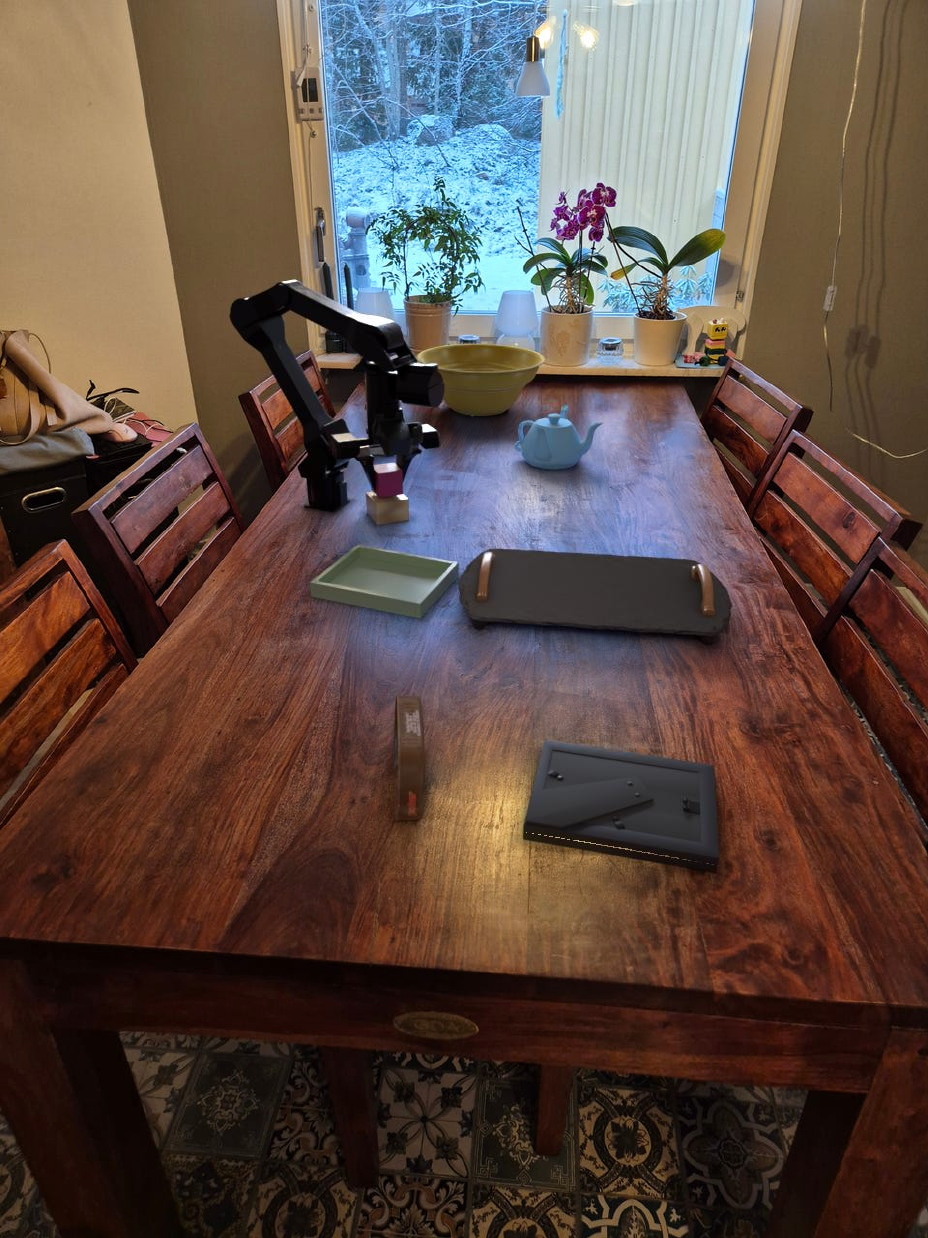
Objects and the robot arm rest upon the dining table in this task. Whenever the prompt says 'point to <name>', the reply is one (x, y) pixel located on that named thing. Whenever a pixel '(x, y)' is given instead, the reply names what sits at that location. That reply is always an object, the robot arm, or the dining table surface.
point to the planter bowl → (482, 375)
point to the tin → (408, 758)
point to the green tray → (386, 580)
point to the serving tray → (595, 592)
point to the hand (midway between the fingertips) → (386, 488)
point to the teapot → (553, 442)
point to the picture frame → (625, 805)
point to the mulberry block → (388, 480)
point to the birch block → (387, 508)
